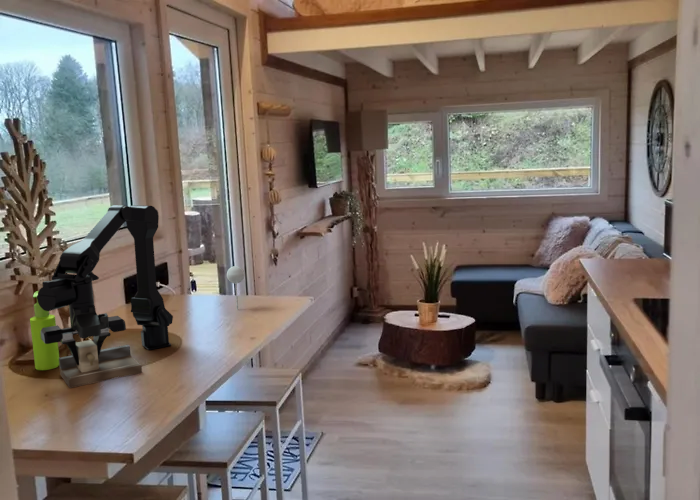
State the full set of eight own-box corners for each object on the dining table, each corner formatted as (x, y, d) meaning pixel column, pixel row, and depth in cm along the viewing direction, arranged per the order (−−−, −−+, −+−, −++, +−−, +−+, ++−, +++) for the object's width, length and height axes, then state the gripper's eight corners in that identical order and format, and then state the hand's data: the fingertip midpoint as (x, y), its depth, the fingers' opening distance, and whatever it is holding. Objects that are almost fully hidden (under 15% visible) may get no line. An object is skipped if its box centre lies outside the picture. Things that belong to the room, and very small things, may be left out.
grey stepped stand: (129, 361, 175) (128, 344, 175) (142, 372, 166) (140, 354, 165) (60, 375, 166) (58, 357, 165) (69, 388, 157) (67, 369, 156)
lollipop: (226, 308, 228) (224, 265, 225) (243, 306, 230) (241, 263, 228) (231, 312, 222) (228, 268, 220) (248, 310, 224) (246, 266, 222)
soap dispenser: (32, 372, 169) (23, 295, 165) (37, 364, 175) (29, 289, 172) (57, 369, 170) (49, 293, 167) (61, 361, 177) (53, 287, 173)
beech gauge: (93, 362, 168) (91, 339, 167) (102, 372, 161) (99, 348, 160) (76, 366, 166) (74, 342, 165) (84, 376, 159) (82, 351, 158)
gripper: (45, 314, 150) (52, 380, 153) (129, 301, 160) (134, 363, 163) (37, 305, 159) (44, 367, 162) (117, 293, 170) (122, 352, 172)
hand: (87, 363), depth 165 cm, fingers closed on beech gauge, 4 cm apart
